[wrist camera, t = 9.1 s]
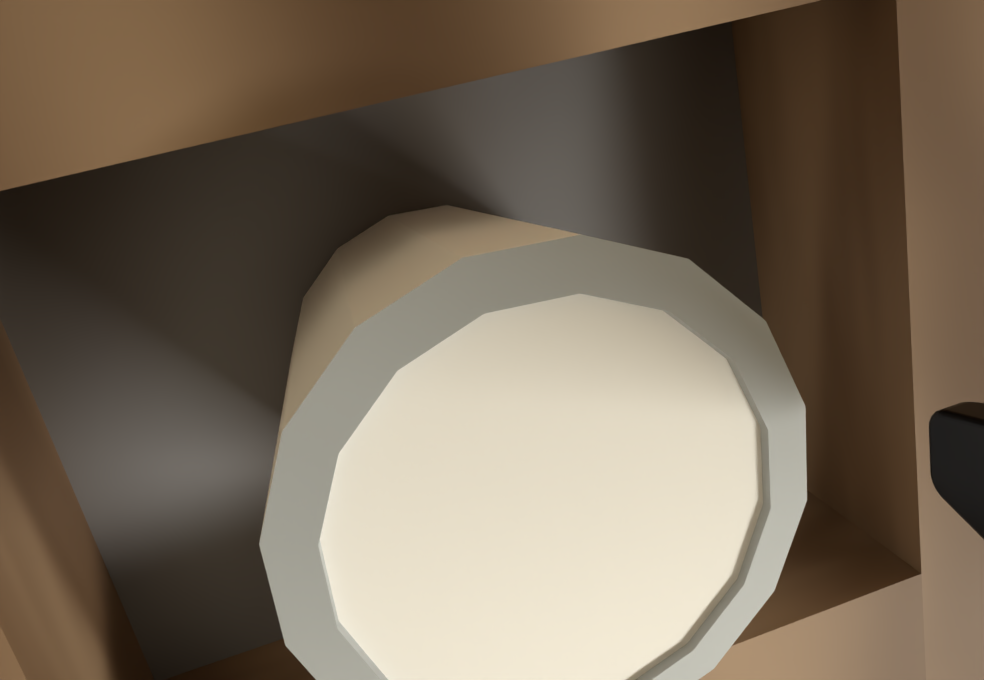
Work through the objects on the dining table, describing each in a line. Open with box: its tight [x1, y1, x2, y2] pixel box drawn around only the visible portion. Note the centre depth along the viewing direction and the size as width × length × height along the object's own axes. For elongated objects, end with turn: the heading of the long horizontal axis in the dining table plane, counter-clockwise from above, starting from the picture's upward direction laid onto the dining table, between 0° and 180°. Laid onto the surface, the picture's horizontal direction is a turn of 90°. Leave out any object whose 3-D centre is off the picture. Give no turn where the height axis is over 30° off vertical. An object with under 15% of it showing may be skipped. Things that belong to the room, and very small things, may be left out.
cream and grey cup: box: [259, 205, 807, 680], centre depth 13 cm, size 7×7×7 cm
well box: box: [0, 0, 984, 680], centre depth 15 cm, size 20×16×6 cm
